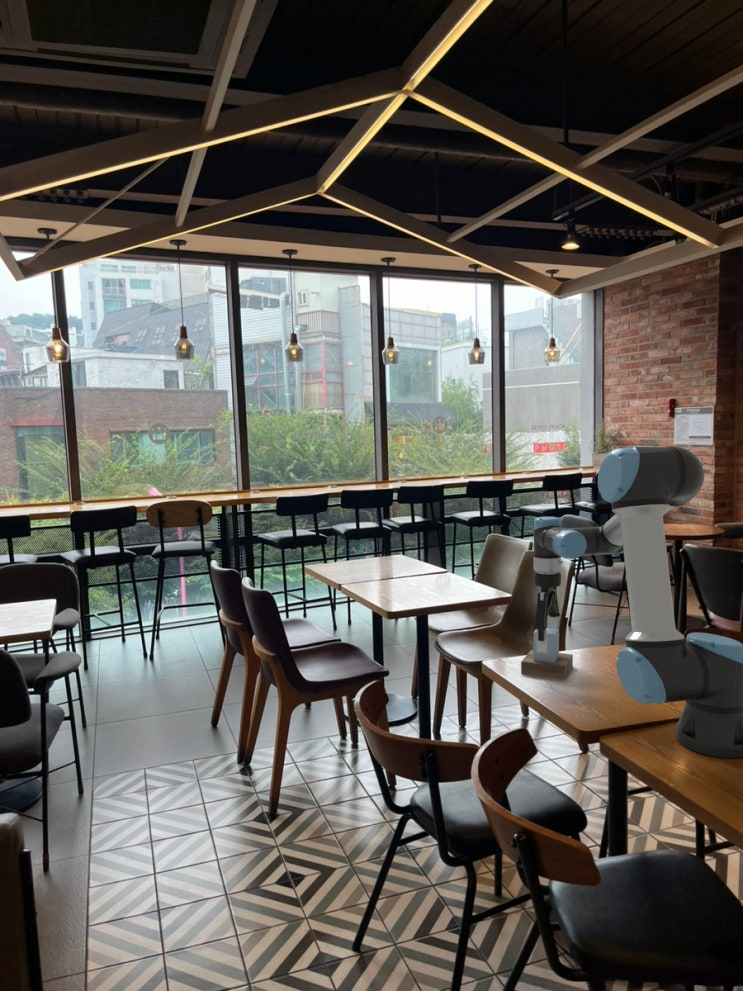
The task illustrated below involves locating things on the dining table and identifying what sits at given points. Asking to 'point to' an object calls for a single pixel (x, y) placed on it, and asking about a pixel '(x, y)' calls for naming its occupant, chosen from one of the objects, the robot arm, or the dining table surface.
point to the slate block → (548, 646)
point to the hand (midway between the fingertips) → (547, 645)
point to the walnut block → (547, 666)
